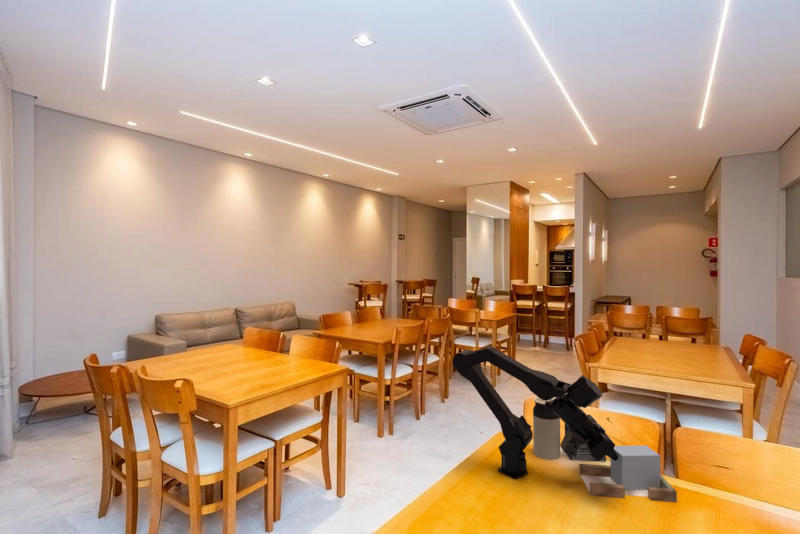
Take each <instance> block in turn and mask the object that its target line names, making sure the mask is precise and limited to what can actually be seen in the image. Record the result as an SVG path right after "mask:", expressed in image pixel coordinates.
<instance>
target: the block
mask: <svg viewBox="0 0 800 534" xmlns="http://www.w3.org/2000/svg"><path fill="white" fill-rule="evenodd" d="M614 450H615V452H616V454H617V457H618V459H617V460H616V461H614V460H613V459H611V458H610V457H609V459H610V465H609V466H611V479H612V480H613V481H614V482H615V483H616V484H617V485H623V486H624V488H625V490H648V487H656V488H660V474H661V455H660V454H659V453H658V452H656V451H654V450H653V449H652V448H650V447H649V446H648V445H615V447H614Z"/></svg>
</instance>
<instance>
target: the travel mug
mask: <svg viewBox="0 0 800 534" xmlns="http://www.w3.org/2000/svg"><path fill="white" fill-rule="evenodd" d="M555 398H556V397H553V398H552V399H550V400H542V399H540V398H539V397H537V396H536V397H534V398H533V401H534V406H533V408H532V422H533V423H532V427H533V429H532V433H533V437H532V440H533V443H532V445H533V455H534V456H536V457H538V458H540V459H543V460H548V461H551V460H552V461H554V460H559V458H561V419H560V418H559V417H558V416H557V415H556V414H555V413H554V412H551V413H550V414H549V415H546V414H545V413H546V408H545V402H546V401H547V402H550V401H552V400H554V399H555Z"/></svg>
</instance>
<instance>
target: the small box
mask: <svg viewBox="0 0 800 534" xmlns="http://www.w3.org/2000/svg"><path fill="white" fill-rule="evenodd" d="M596 424H597V426H598V427H599V428H602V429H603V430H604V432H605V433H606V429H605V428H604V427H603V426H602V425H601V424H599V423H598V422H597V423H596ZM568 429H569V427H568V426H567V425H566V424H565V423H564V435H565V434H566V432H567V431H568ZM565 454H566V455H567V457H568V459H569V460H570V461H573V462H574V461H576V462H577V461H579V462H580V461H581V462H597V461H596V460H595V459H594V458H593V457H592V456H591V454H590V453H589V451H588V446H587V444H586V443H585V444H584V445H583V444H582V443H581V445H580V447H579V449H578V451H577V455H576V456H575V457H573V456H568V454H567V453H565ZM598 462H605V463H606V462H607V456H606V455H605V456H604V457H603V458H602V459H601V460H599V461H598Z"/></svg>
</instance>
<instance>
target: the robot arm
mask: <svg viewBox="0 0 800 534" xmlns="http://www.w3.org/2000/svg"><path fill="white" fill-rule="evenodd" d="M486 362H488V363H489V364H491V365H493V366H495V367H496V368H498V369H499V370H502V371H503V372H505V373H506V374H508V375H510V376H511V377H513V378H515V379H517V380H518V381H520V382H521V383H523V384H524V385H525V387H527V388H528V389H529V391H530V392H531V393H533V394H534V395H535V396H536V397H539V398H540V399H542V400H550V399H552V398H555V399H554V400H552V401H550V402H547V401H546V402H545V408H546V413H545V414H546V415H549V414H550V413H551V412H554V413H555V414H556V415H557V416H558V417H559V418H560V421H563V422H564V425H565V424H566V425H567V426H568V427H569V429H568V431H567V432H566V434H565V433H564V435H563V438H562V439H561V441H560V449H561V451H562V452H564V453H565V454H566V453H567V454H568V456H573V457H575V456H576V455H577V451H578V449H579V447H580V445H581V443H582V444H583V445H584V444H585V443H586V444H587V446H588V451H589V453H590V454H591V456H592V457H593V458H594V459H595V460H596V461H595V462H600V461H599V460H601V459H602V458H603V457H604V456H605V455H606V457H608V458H609V459H610V458H611V459H613V460H614V461H616V460H617V459H618V457H617V454H616V452H615V450H614V447H615V446H616V443H614V441H613V440H612V439H611V438H610V437H609V435H608V433H606V431H605V432H604V430H605V429H604V428H603V427H602V428H603V429H604V430H603V429H602V428H599V427H598V426H597V424H596V423H598V421H596V419H595V418H594V417H593V416H592V415H591V414H586V412H585V411H584V410H583V409H587V407H590V406H591V405H592V404H593V403H595V402H597V401H598V400H599V399H601V398H602V397H603V396H604V395H603V392H602V390H601V388H599V386H598V384H597V383H595V382H593V381H592V380H591V379H590V378H588V377H586V376H585V374H582V375H581V376H579V377H578V379H576V381H574V382H572V383H568V382H566V381H563V380H559V379H558V378H557V377H556V376H554V375H552V374H550V373H547V372H545V371H540V370H536V369H534V368H530V367H528V366H526V365H525V364H523V363H521V362H519V361H517V359H514V358H512V357H510V356H509V355H507V354H505V353H504V352H502V351H500V350H499V349H497V348H495V346H491V345H489V346H486V347H485V348H481V349H477V350H470V349H466V350H463V351H462V350H461V352H458V353H456V354H455V355H454V356H453V358H452V362H451V364H452V367H453V369H455V371H457V373H458V374H459V375H460V376H461V377H463V378H464V379H466V380H467V381H468V382H470V383H471V385H472V386H473V387H474V389H475V390H476V391H477V393H478V394H479V396H480V398H481V399H482V400H483V402H484V403H485V404H486V405H487V406H486V407H488V409H489V410H490V411H491V413H492V414H493V416H494V417H495V418H496V420H497V421H498V423H499V424H500V429H501V432H502V435H503V437H504V440H503V442H502V443H501V444H500V445H499V446H498V451H499V452H500V453H499V454H500V457H501V458H500V459H501V466H500V467H498V468H497V471H499V472H501V473H502V474H505V475H506V476H508V477H509V478H512V479H514V480H515V479H519V478H521V477H523V476H525V475H527V474H528V470H527V458H526V452H525V451H524V450H525V449H526V448H527V447H528V446H529V445H530V443H531V442H532V440H533V429H532V426H531V425H530V424H529V423H528V421H527V420H526V418H525V417H524V415H523V414H522V415H520V416H519V417H518V416H517V415H515V414H514V413H513V412H512V411H511V409H510V408H509V406H507V404H506V402H505V401H504V400H503V398H502V397H501V395H500V394H499V393H498V392H497V389H495V387H494V386H493V385H492V383H491V382H490V381H489V380H488V378H487V377H486V375H485V374H484V371H483V367H482V363H486ZM582 408H583V409H582ZM567 454H566V455H567ZM568 456H567V457H568Z"/></svg>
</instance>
